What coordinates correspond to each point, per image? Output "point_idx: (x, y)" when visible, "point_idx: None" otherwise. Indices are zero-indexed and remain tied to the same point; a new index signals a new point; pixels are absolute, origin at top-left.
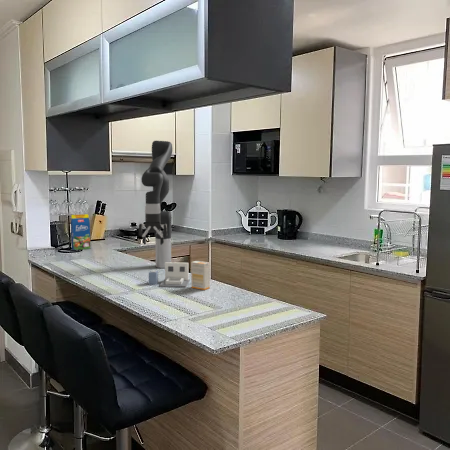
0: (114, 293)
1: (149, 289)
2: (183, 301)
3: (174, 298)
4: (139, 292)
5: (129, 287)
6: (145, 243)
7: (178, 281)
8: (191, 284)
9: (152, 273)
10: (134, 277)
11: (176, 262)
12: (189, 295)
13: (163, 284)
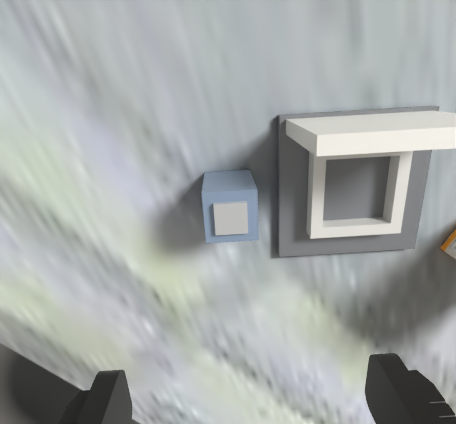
0: None
1: (241, 301)
2: None
3: None
4: (212, 346)
5: (134, 285)
6: (125, 404)
7: (383, 233)
8: (451, 256)
9: (231, 239)
10: (53, 61)
11: (420, 129)
12: (426, 352)
13: (296, 241)
